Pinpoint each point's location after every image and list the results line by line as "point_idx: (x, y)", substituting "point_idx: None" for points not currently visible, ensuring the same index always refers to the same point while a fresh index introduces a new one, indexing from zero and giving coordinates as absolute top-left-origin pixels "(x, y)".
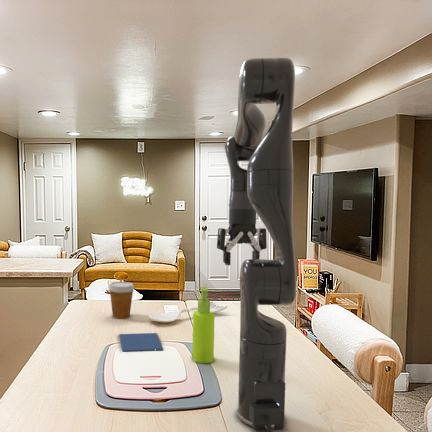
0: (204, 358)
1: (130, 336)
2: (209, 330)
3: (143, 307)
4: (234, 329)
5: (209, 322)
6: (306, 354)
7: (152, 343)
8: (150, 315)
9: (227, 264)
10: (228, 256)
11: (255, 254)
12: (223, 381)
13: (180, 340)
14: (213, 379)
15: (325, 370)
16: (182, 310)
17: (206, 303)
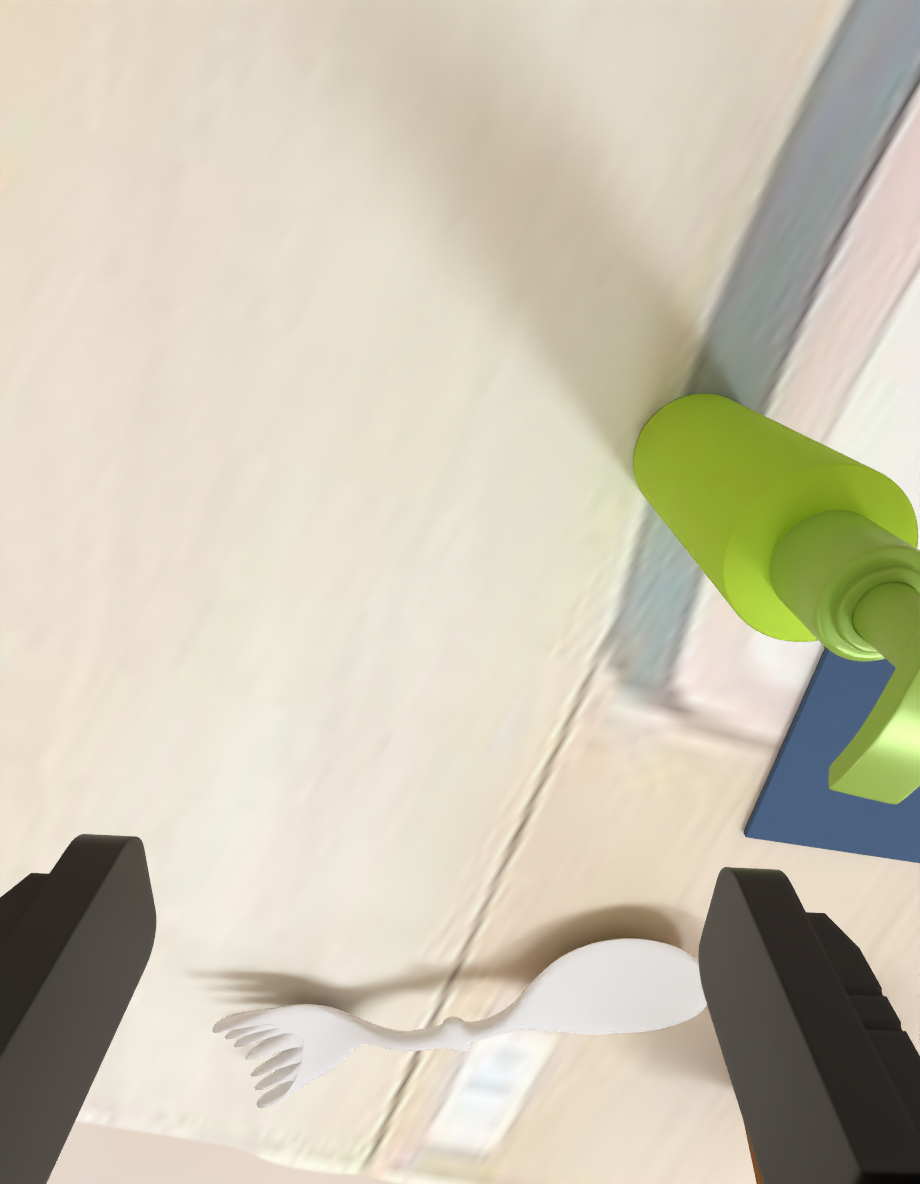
0: (732, 401)
1: (899, 826)
2: (771, 435)
3: (610, 1142)
4: (289, 798)
5: (802, 449)
6: (28, 347)
7: (847, 716)
8: (685, 1015)
9: (777, 890)
10: (870, 1043)
11: (19, 1058)
12: (768, 100)
13: (665, 730)
14: (808, 151)
15: (20, 56)
16: (498, 1026)
17: (889, 543)
